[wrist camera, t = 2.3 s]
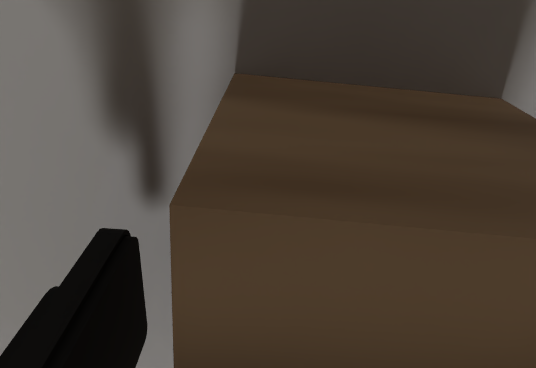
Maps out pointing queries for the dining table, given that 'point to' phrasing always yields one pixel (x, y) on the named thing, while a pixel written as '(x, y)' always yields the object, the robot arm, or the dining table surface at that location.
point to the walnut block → (356, 231)
